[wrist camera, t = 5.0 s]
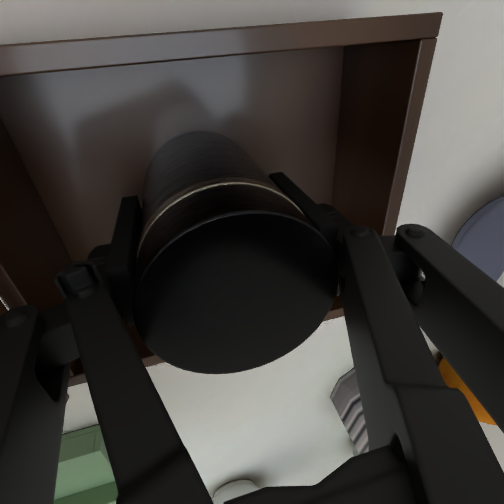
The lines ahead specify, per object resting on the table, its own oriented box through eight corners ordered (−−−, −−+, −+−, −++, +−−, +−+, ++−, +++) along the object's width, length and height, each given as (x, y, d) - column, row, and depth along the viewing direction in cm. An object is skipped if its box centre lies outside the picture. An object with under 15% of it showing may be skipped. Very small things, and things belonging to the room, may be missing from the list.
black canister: (159, 247, 21) (161, 395, 12) (128, 138, 17) (95, 236, 8) (260, 228, 22) (332, 348, 13) (253, 122, 18) (351, 189, 9)
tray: (33, 503, 34) (25, 532, 32) (-24, 458, 28) (-38, 491, 26) (136, 471, 36) (134, 497, 34) (103, 422, 30) (99, 450, 28)
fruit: (480, 308, 37) (572, 380, 28) (515, 332, 42) (600, 398, 34) (409, 370, 40) (472, 450, 32) (450, 385, 46) (513, 456, 38)
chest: (351, 25, 17) (444, 11, 12) (331, 253, 26) (378, 307, 20) (-41, 56, 14) (-173, 57, 8) (87, 306, 23) (64, 388, 17)
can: (404, 339, 36) (496, 445, 26) (413, 383, 43) (489, 480, 33) (318, 384, 36) (378, 504, 27) (341, 420, 43) (395, 528, 33)
